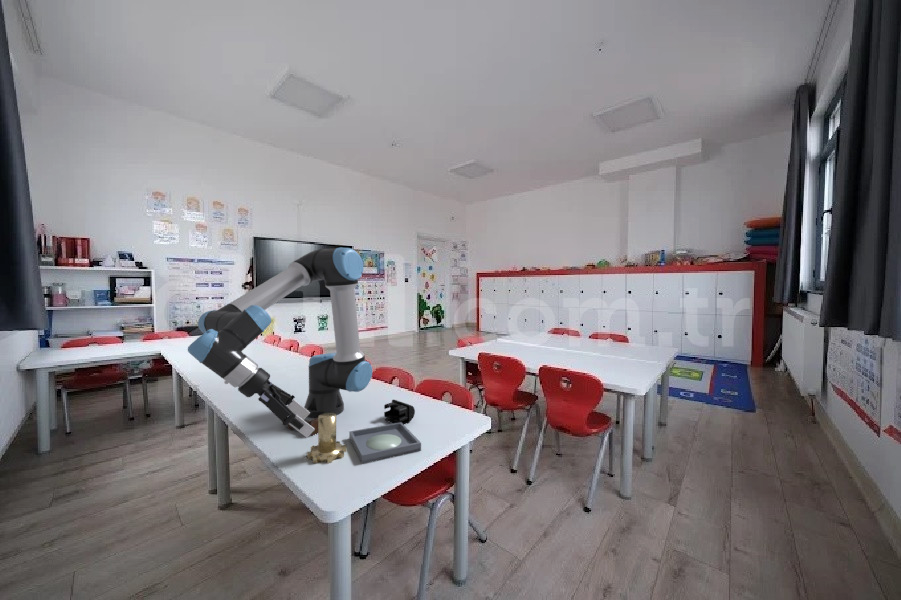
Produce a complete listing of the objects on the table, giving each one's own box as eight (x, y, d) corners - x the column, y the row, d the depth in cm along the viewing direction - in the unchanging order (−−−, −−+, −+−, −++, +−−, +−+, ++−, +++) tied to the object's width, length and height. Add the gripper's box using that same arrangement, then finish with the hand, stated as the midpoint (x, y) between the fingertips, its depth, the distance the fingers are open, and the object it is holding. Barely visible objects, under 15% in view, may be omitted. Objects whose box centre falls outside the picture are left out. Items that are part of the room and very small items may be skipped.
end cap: (415, 421, 126) (415, 403, 126) (400, 426, 120) (400, 408, 120) (397, 414, 132) (398, 397, 132) (383, 419, 127) (383, 402, 127)
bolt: (287, 430, 120) (317, 437, 113) (276, 428, 116) (307, 435, 109) (294, 414, 122) (324, 420, 116) (283, 411, 119) (314, 417, 112)
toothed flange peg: (305, 450, 101) (306, 412, 101) (342, 443, 106) (342, 407, 106) (309, 467, 92) (309, 425, 91) (349, 458, 97) (349, 419, 97)
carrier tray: (349, 438, 110) (349, 431, 110) (401, 428, 118) (401, 422, 118) (362, 463, 94) (362, 455, 94) (421, 450, 102) (421, 442, 102)
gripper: (240, 377, 98) (296, 419, 106) (230, 402, 76) (301, 454, 84) (261, 358, 101) (314, 401, 108) (257, 377, 79) (324, 429, 86)
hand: (308, 424), depth 96 cm, fingers open, 13 cm apart
